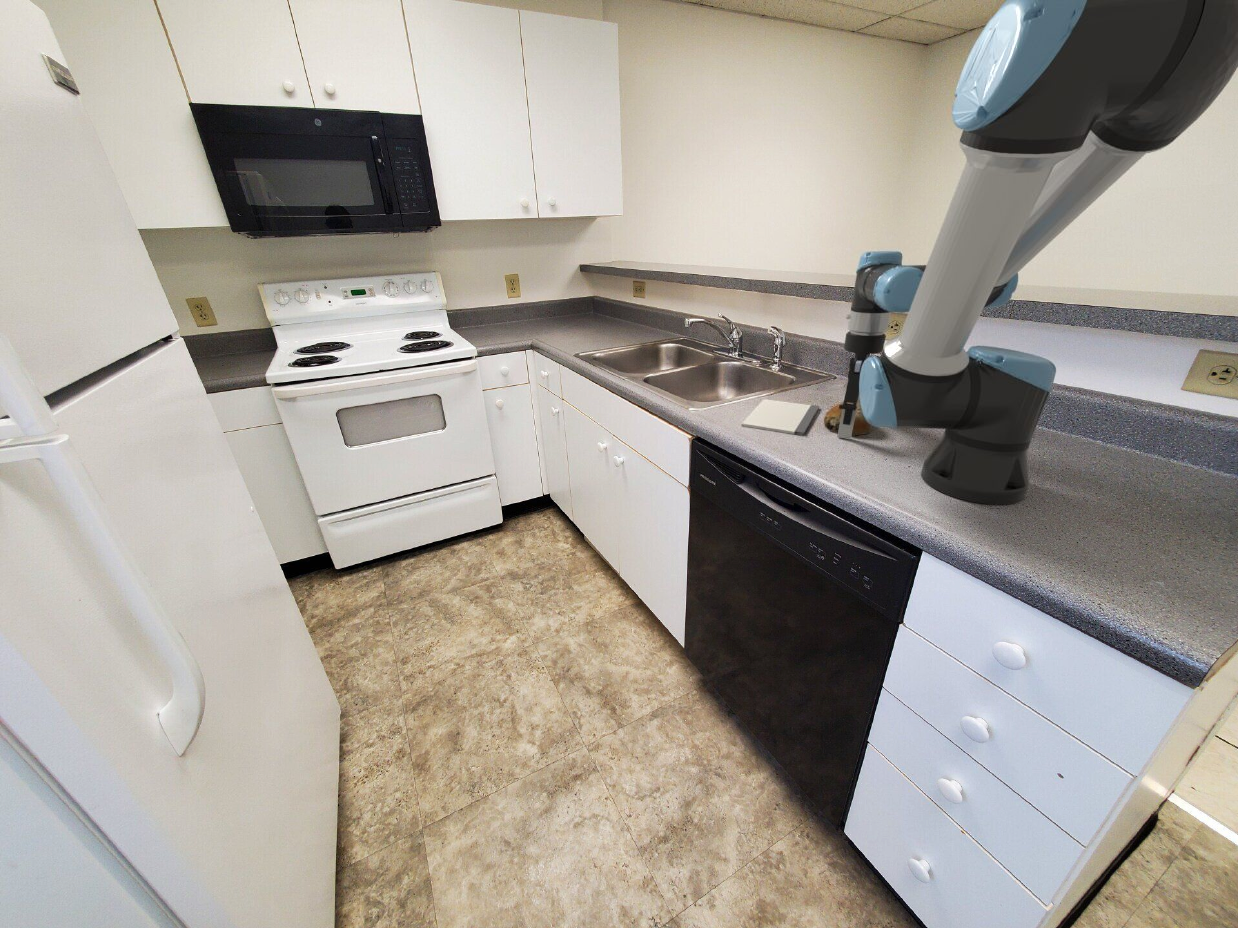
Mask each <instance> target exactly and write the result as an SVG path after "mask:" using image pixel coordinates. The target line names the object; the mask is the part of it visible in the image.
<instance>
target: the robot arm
mask: <svg viewBox="0 0 1238 928" xmlns="http://www.w3.org/2000/svg"><path fill="white" fill-rule="evenodd" d="M1237 70H1238V0H1005V2H1003V4H1002V5H1000V7H999V8H998V9H997V11H995V14H994V15H993V16H992V17H991V18H990V19H989V21H988V22H987V24H986V25H985V26H984V28H983V29H982V31H981V33H980V34H979V36H978V37H977V39H976V41H975V43H974V44H973V47H972V48H971V50H970V51H969V54H968V56H967V59H966V61H965V62H964V65H963V68H962V70H961V71H960V72H961V73H960V76H959V79H958V82H957V85H956V88H955V91H954V96H955V99H954V102H953V104H952V109H951V110H952V111H951V115H952V122H953V124H954V125H955V127H957V128H958V129H960V130H961V131H962V132H961V134H960V135H961V136H960V138H959V140H958V145H959V147H960V149H961V150H962V152H963V154H964V156H965V157H966V162H965V164H964V166H963V170H962V172H961V174H960V178H959V180H958V182H957V185H956V188H955V191H954V193H953V196H952V198H951V201H950V203H949V206H948V209H947V211H946V214H945V217H944V220H943V222H942V225H941V227H940V229H939V233H938V235H937V237H936V240H935V242H934V245H933V248H932V250H931V252H930V256H929V258H928V261H927V263H926V264H916V265H915V264H913V265H911V264H909V265H906V264H905V265H903V264H902V263H903V262H902V261H903V253H902V252H901V251H898V250H876V251H865V252H863V253H862V254H861V255H860V257H859V262H858V266H857V269H856V270H855V272H856V276H855V281H854V282H855V283H854V288H853V294H852V298H851V299H852V300H851V306H850V312H849V314H846V316H845V318H846V320H849V321H848V323H847V329H848V332H847V333H846V334H845V339H844V345H843V349H844V351H846V352H849V353H853V354H855V355H854V357H851V358H850V361H849V364H848V365H849V366H848V369H849V370H848V374H847V380H848V381H847V386H846V388H845V389H846V390H845V393H844V394H845V395H844V398H843V399H844V400H843V402H842V403H843V405H839V409H842V414H841V419H840V424H839V430H838V433H837V435H836V437H837V438H843V439H848V440H851V439H852V436H853V435H852V431H853V426H854V421H855V416H856V411H857V403H859V404H861V409H862V412H863V415H864V417H865V419H866V420H867V422H868V423H869V424H871V425H872V427H877V428H887V429H890V428H891V429H893V430H896V429H934V430H935V429H936V430H937V429H940V430H944V432H943V435H942V436H941V438H940V440H939V441H938V442H937V443H936V445H935V447H933V448H932V451H931V452H930V453H929V454H928V456H927V457H926V459H925V460H924V462H923V463H922V464H923V465H922V467H921V472H920V476H921V478H922V480H923V481H924V482H925V484H928V486H929V487H931V488H933V489H935V490H936V491H939V492H940V493H943V494H945V495H948V496H950V497H954V498H957V499H960V500H963V501H968V502H973V503H979V504H985V505H1001V506H1002V505H1010V504H1011V505H1012V504H1016V503H1019V502H1021V501H1022V500H1023V499H1024V498H1025V496H1026V493H1027V491H1028V488H1029V484H1030V481H1029V480H1030V479H1029V477H1030V476H1029V463H1028V451H1029V448H1030V445H1031V442H1032V440H1033V437H1034V435H1035V432H1036V430H1037V427H1038V424H1039V421H1040V420H1041V419H1040V418H1041V416H1042V413H1043V411H1044V408H1045V406H1046V402H1047V400H1048V398H1049V395H1050V393H1052V392H1053V386H1054V382H1055V381H1054V380H1055V377H1056V374H1057V367H1056V365H1055V364H1054V363H1053V361H1051V360H1050V359H1047V358H1045V357H1042V356H1040V355H1036V354H1032V353H1027V352H1024V351H1019V350H1015V349H1009V348H1004V347H996V346H991V345H990V346H989V345H973V346H970V347H969V348H968V350H967V351H966V349H965V346H966V344H967V342H968V340H969V338H970V336H971V333H972V331H973V330H974V328H975V325H976V324H977V321H978V320H979V318H980V315H981V314H982V312H983V309H995V308H1000V307H1002V306H1004V305H1006V304H1007V303H1008V302H1009V301H1010V300H1011V299H1012V295H1013V293H1015V292H1016V290H1017V287H1018V283H1019V272H1020V271H1021V270H1022V269H1024V267H1025V266H1026V265H1028V263H1030V262H1031V261H1032V260H1033V259H1034V258H1035V257H1036V256H1037V255H1038V254H1040V252H1041V251H1043V250H1044V249H1045V248H1046V247H1047V246H1048V245H1050V243H1051V242H1052V241H1053V240H1054V239H1056V238H1057V237H1058V236H1059V235H1060V234H1061V233H1062V232H1063V231H1064V230H1066V228H1067V227H1069V225H1071V224H1072V223H1073V222H1074V221H1075V220H1076V219H1078V217H1079V216H1081V215H1082V214H1083V213H1084V212H1085V211H1086V210H1087V209H1088V208H1089V207H1090V206H1092V204H1093V203H1095V202H1096V201H1097V200H1098V199H1099V198H1100V197H1101V196H1102V195H1103V194H1104V193H1106V191H1107V190H1108V189H1109V188H1110V187H1112V186H1113V185H1114V184H1115V183H1116V182H1117V181H1119V179H1120V178H1122V176H1124V174H1126V173H1127V171H1129V170H1130V169H1131V168H1132V167H1133V166H1134V165H1136V163H1138V162H1139V161H1140V160H1141V159H1142V158H1143V157H1144V156H1145V155H1146V154H1151V153H1153V152H1154V153H1155V152H1157V151H1159V150H1160V151H1161V150H1162V149H1164V148H1166V147H1168V146H1169V145H1170V144H1172V143H1173V142H1174V141H1175V140H1176V139H1178V138H1179V137H1180V135H1182V134H1183V133H1184V132H1185V131H1186V130H1187V129H1189V128H1190V127H1191V126H1192V125H1193V124H1194V123H1195V122H1196V121H1197V120H1198V119H1199V118H1200V117H1201V116H1202V115H1203V114H1204V113H1205V112H1206V111H1207V110H1208V109H1209V108H1210V106H1211V105H1212V104H1213V103H1214V102H1215V100H1216V99H1217V98H1218V97H1219V95H1220V94H1221V93H1222V92H1223V90H1224V89H1225V87H1226V86H1227V85H1228V84H1229V82H1230V80H1232V77H1233V75H1234V74H1235V72H1236V71H1237ZM892 313H898V314H899V313H900V314H903V313H907V316H906V318H905V320H904V323H903V326H902V329H901V331H900V333H899V334H896V335H894V336H892V337H891V338H890V339H889V338H888V340H887V341H886V337H887V335H886V332H887V331H888V330H889V325H890V320H891V315H892ZM885 342H886V343H885ZM880 353H881V354H880ZM877 354H880V356H877ZM871 355H872V356H871ZM848 403H853V404H848Z"/></svg>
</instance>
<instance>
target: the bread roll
mask: <svg viewBox="0 0 1238 928" xmlns="http://www.w3.org/2000/svg"><path fill="white" fill-rule="evenodd" d="M848 404H853V403H848ZM839 405H843V402H841V403H838V404H836V405H834V406H833V407H831V408H830V409H829V410H828V411H827V412H826V414H825V416H824V419H823V424H824V427H825V428H826V429H827V430H829V431H830V432H832V433H836V434H838V430H839V424H840V419H841V414H842V409H839ZM872 430H873V425H871V424H869V423H868V422H867V420H866V419H865V417H864V415H863V412H862V409H861V404H859V403H857V411H856V416H855V421H854V426H853V431H852V436H859V435H867V434H869V433H870V432H872Z"/></svg>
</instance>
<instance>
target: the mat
mask: <svg viewBox="0 0 1238 928" xmlns="http://www.w3.org/2000/svg"><path fill="white" fill-rule="evenodd" d="M819 409H820V405H817V404H816V405H814V404H803V403H796V402H791V401H790V402H789V401H781V400H772V399H766V398H763V399H762V401H760V402H759V404H758V405H757V406H756V407H755V408H754V409H753V410H752V411H751V412H750V413H749V414H748V416H747V417H746V418H745V419H744V420H743V421H742V422H741V427H745V428H752V429H758V430H759V429H760V430H763V431H764V430H766V431H770V432H771V431H773V432H776V433H777V432H778V433H783V434H790V435H796V436H797V435H798V436H803V437H804V435H805V434H806V433H807V430H809V427H810V425H811V424H812V421H813V420H814V418H815V417H816V415H817V413H818V411H819Z"/></svg>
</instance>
